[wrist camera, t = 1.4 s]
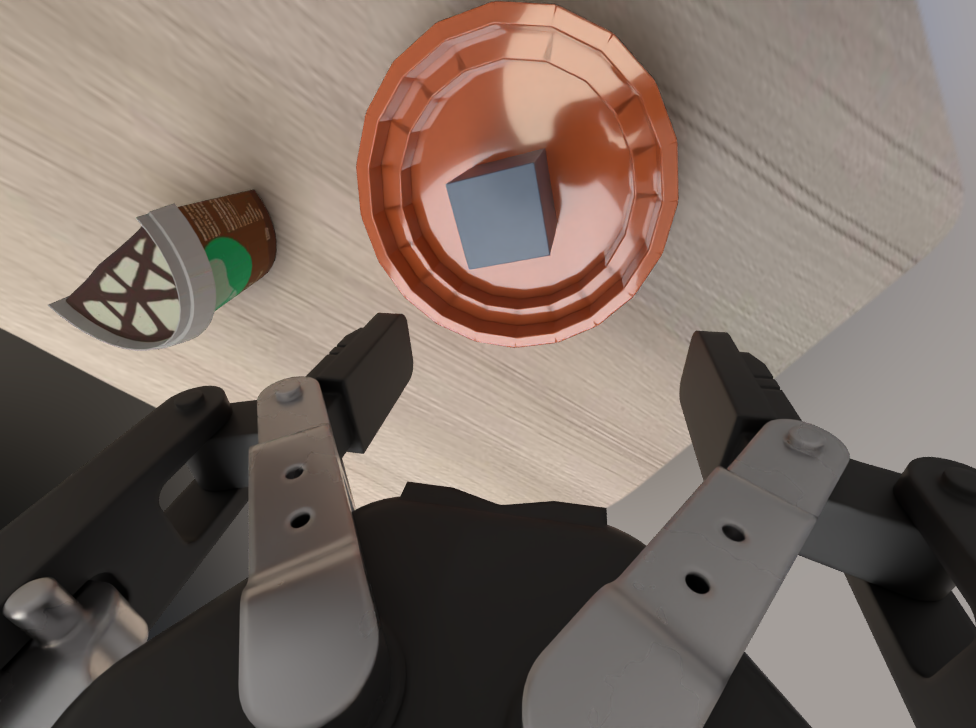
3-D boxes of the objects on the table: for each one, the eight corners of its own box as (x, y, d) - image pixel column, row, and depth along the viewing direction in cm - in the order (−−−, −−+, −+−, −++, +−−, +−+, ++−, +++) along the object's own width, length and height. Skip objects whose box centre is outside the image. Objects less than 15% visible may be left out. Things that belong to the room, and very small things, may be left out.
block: (545, 148, 24) (534, 162, 20) (557, 225, 27) (550, 255, 22) (472, 166, 26) (444, 183, 21) (490, 238, 28) (468, 270, 23)
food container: (229, 318, 37) (125, 383, 29) (173, 257, 35) (43, 308, 26) (324, 255, 32) (231, 312, 23) (266, 178, 29) (141, 212, 21)
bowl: (659, -40, 20) (674, -67, 16) (670, 301, 28) (681, 329, 25) (342, 73, 25) (305, 71, 22) (432, 333, 34) (415, 359, 30)
